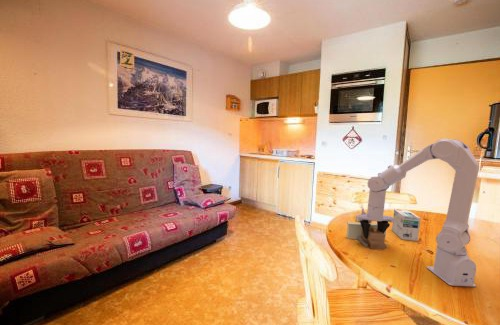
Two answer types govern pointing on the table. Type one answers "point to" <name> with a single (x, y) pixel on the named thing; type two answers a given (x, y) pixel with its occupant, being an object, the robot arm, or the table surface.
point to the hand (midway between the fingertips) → (372, 237)
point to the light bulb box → (406, 224)
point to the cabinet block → (374, 238)
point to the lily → (363, 211)
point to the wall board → (358, 232)
